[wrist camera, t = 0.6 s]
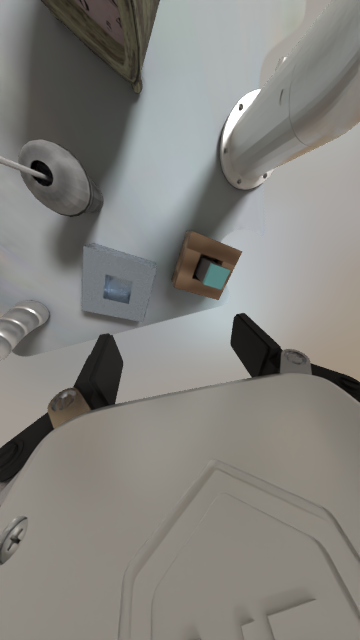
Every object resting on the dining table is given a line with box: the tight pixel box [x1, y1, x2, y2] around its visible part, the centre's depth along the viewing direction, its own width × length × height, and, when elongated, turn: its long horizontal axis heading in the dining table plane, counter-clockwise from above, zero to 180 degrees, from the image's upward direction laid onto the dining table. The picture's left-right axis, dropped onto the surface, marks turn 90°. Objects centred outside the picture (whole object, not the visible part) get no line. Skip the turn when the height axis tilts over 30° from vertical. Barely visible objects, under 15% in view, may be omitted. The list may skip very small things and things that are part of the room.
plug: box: [194, 256, 230, 290], centre depth 34 cm, size 4×4×11 cm
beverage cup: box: [0, 139, 103, 217], centre depth 21 cm, size 7×7×20 cm
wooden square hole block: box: [172, 231, 242, 300], centre depth 37 cm, size 12×12×6 cm
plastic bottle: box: [0, 300, 49, 361], centre depth 30 cm, size 6×7×20 cm
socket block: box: [82, 243, 157, 322], centre depth 36 cm, size 14×14×6 cm
